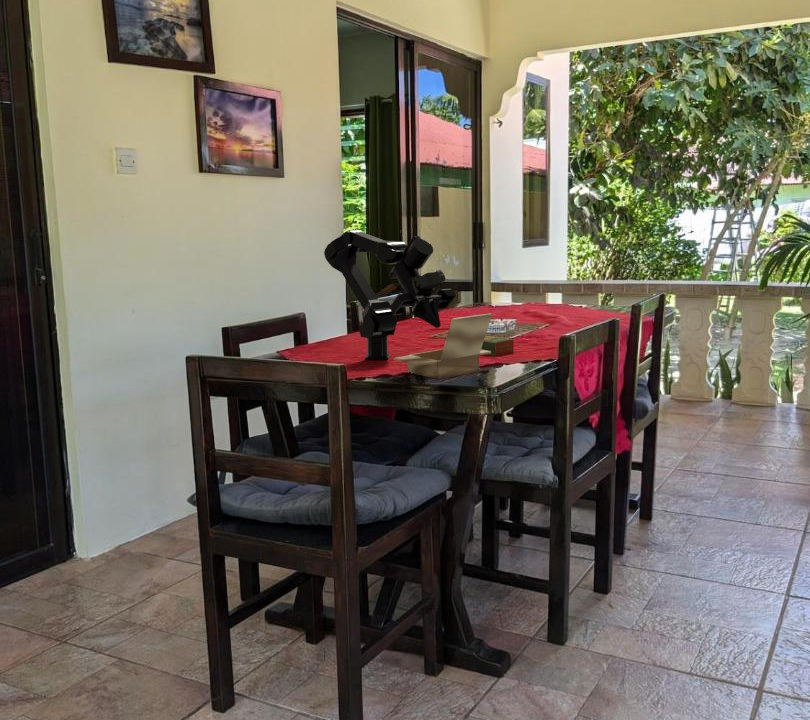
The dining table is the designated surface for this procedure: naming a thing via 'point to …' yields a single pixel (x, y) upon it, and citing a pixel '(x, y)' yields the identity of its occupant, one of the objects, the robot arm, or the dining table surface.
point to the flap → (465, 336)
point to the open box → (441, 364)
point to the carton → (497, 345)
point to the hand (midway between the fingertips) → (438, 326)
